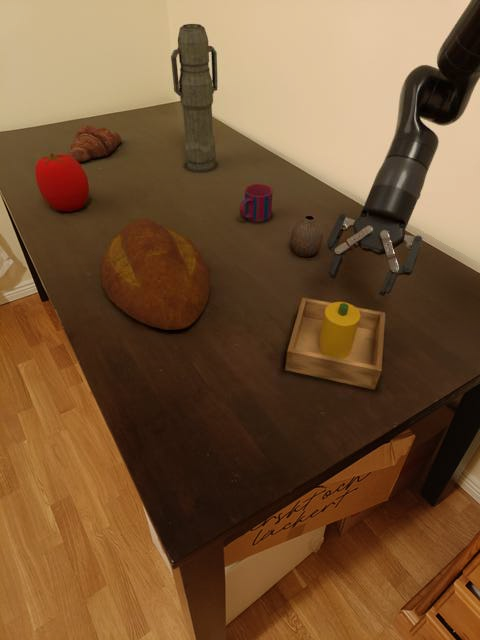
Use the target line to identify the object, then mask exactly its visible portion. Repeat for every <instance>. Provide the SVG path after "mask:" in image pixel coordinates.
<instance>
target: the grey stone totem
mask: <svg viewBox="0 0 480 640" xmlns="http://www.w3.org/2000/svg"><path fill="white" fill-rule="evenodd" d="M210 55H211V69H210V66H209V63H210ZM177 58H178V59H179V64H180V68H179V70H178V62H177V61H178V59H177ZM170 61H171V72H172V82H173V83H172V84H173V92H174V93H175V94H176V95H177V96H179V100H180V104H181V106H182V113H183V124H184V125H183V126H184V136H185V138H184V143H183V147H184V157H185V160H186V168H187V169H188V170H190V171H192V172H207V171H208V172H209V171H211V170H212V169H214V168H216V157H217V155H216V142H215V138H214V132H213V131H214V129H213V106H212V105H213V103H214V94H215V92H216V91H218V83H219V82H218V53H217V51H216V49H215V48H214V46H212V45H209V38H208V34H207V31H206V28H205V26H204V25H203V26H202V24H199V23H186V24H183V25H182V26H180V27H179V31H178V36H177V48H176V49H174V50H172V53H171V55H170ZM210 70H211V71H210ZM179 71H180V72H179ZM178 72H179V73H178Z"/></svg>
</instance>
